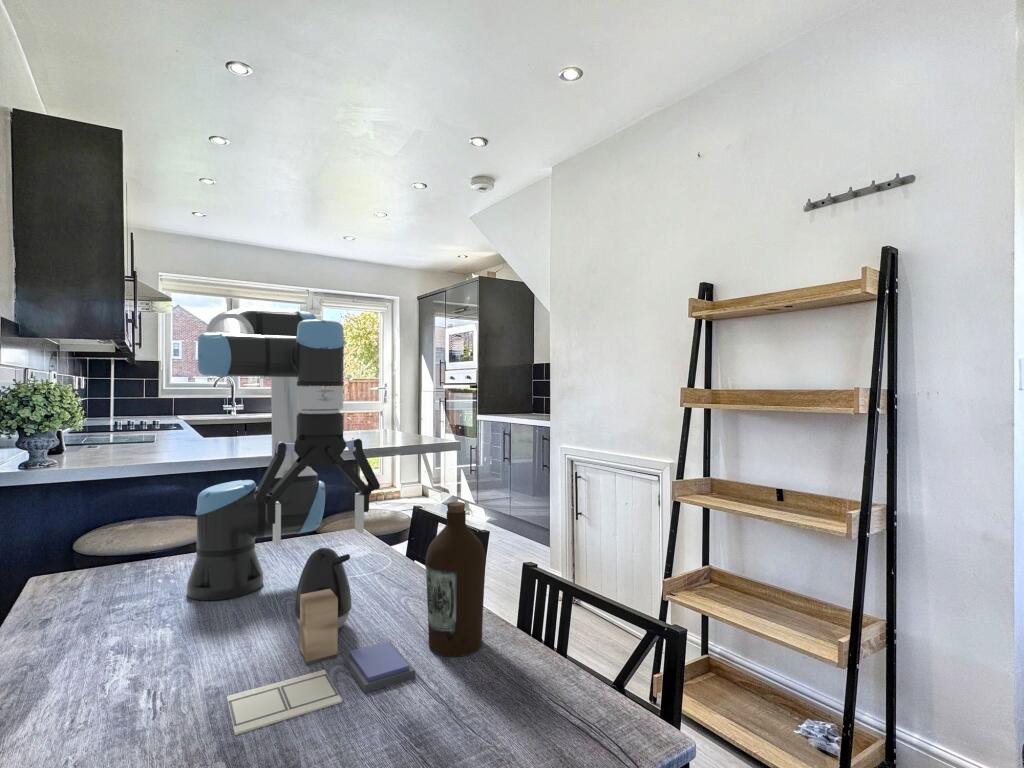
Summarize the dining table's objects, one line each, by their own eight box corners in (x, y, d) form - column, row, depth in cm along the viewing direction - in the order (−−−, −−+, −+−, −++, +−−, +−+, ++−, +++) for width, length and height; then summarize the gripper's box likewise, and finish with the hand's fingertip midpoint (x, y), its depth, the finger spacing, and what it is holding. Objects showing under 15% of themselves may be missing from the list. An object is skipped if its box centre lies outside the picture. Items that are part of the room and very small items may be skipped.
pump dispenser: (335, 644, 97) (335, 558, 97) (282, 638, 99) (282, 554, 99) (362, 620, 107) (362, 542, 107) (313, 615, 109) (314, 538, 109)
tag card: (226, 698, 80) (226, 695, 80) (324, 671, 88) (324, 669, 88) (234, 735, 72) (234, 732, 72) (342, 702, 80) (342, 699, 80)
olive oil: (453, 625, 105) (454, 495, 105) (497, 641, 99) (498, 502, 98) (412, 647, 96) (413, 504, 96) (457, 665, 90) (458, 513, 90)
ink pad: (343, 661, 91) (343, 650, 91) (390, 648, 95) (390, 638, 95) (365, 693, 82) (365, 681, 82) (415, 677, 86) (415, 666, 86)
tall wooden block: (299, 652, 94) (300, 594, 94) (329, 645, 97) (330, 588, 97) (306, 665, 90) (306, 604, 90) (337, 657, 93) (337, 598, 92)
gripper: (241, 414, 83) (241, 554, 83) (398, 411, 97) (397, 531, 97) (235, 412, 89) (235, 542, 89) (383, 409, 103) (382, 522, 103)
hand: (319, 537), depth 93 cm, fingers open, 13 cm apart
